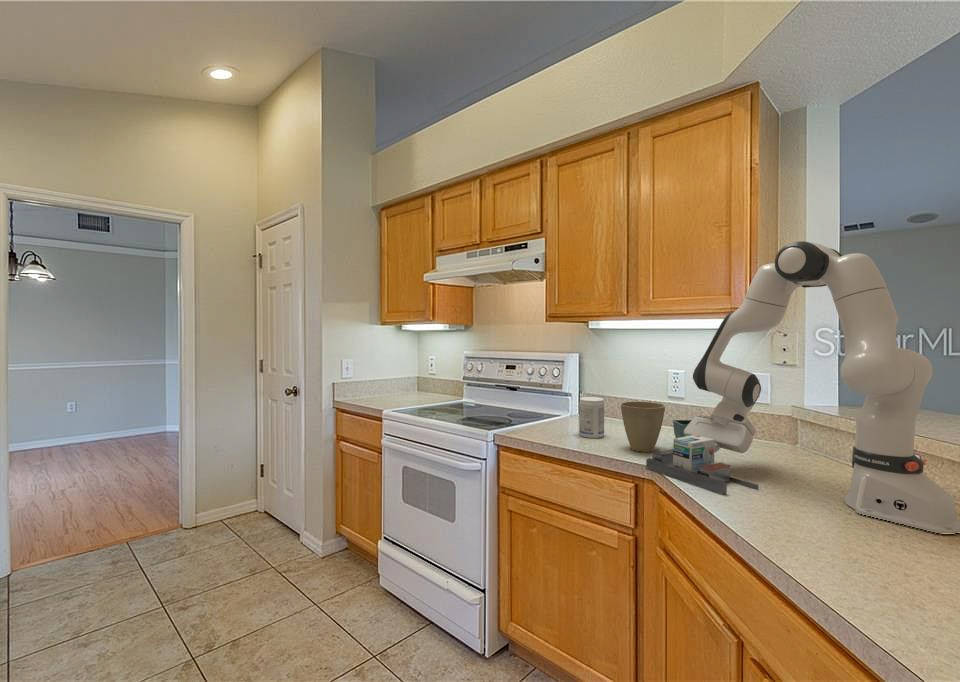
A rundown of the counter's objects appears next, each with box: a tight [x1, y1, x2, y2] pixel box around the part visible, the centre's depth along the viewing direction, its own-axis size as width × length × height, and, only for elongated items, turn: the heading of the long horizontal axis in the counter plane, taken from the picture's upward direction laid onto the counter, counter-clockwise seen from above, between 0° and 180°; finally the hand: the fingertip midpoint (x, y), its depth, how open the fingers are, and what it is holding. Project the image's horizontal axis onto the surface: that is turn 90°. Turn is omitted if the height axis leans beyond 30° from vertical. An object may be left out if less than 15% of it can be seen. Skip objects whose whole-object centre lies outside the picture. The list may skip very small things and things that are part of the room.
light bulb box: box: [672, 435, 716, 474], centre depth 147 cm, size 11×7×11 cm, turn 120°
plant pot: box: [620, 400, 666, 453], centre depth 175 cm, size 15×15×16 cm
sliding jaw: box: [700, 462, 731, 483], centre depth 140 cm, size 3×9×4 cm, turn 119°
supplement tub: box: [578, 396, 605, 439], centre depth 195 cm, size 10×10×15 cm
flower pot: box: [672, 419, 693, 438], centre depth 179 cm, size 9×9×9 cm
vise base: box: [645, 448, 759, 496], centre depth 144 cm, size 28×13×5 cm, turn 29°
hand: (704, 455), depth 150 cm, fingers closed, pressing on light bulb box
